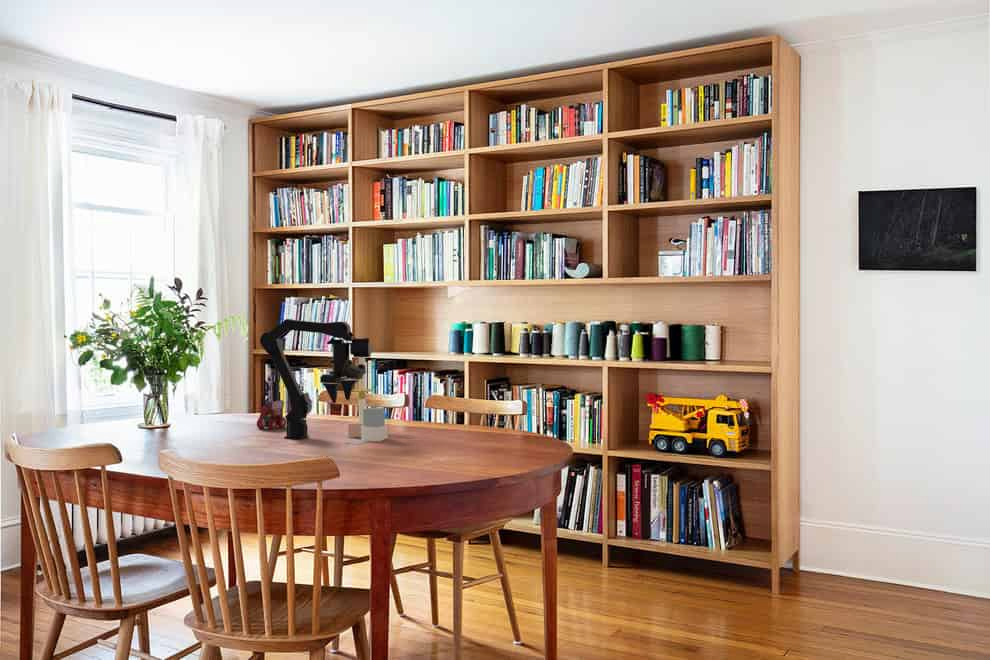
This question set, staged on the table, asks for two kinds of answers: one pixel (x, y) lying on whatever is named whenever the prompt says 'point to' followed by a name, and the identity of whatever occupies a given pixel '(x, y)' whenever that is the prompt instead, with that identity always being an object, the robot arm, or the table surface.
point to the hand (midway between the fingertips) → (341, 401)
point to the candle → (362, 392)
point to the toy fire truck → (272, 415)
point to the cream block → (374, 433)
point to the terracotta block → (354, 429)
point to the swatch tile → (355, 441)
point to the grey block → (373, 417)
